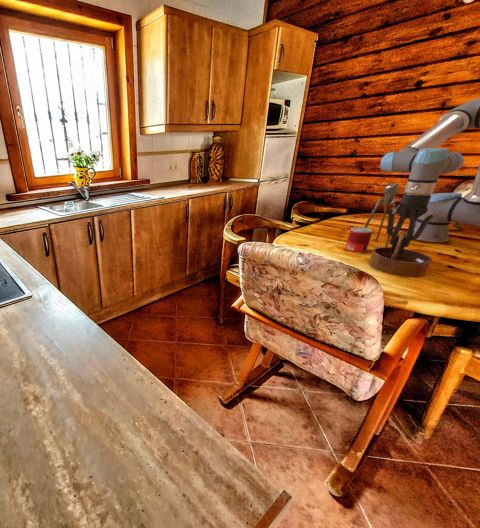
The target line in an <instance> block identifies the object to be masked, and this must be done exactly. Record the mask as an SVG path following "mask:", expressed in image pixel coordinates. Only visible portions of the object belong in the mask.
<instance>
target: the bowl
mask: <svg viewBox="0 0 480 528" xmlns="http://www.w3.org/2000/svg"><path fill="white" fill-rule="evenodd" d="M391 247H392V246H387V247H385V246H380V247H379V246H377V247H374V248H373V249H372V250H371V254H370V257H369V259H368V266H370V267H372V268H373V269H375V270H377V271H380V272H382V273H387V274H389V275H394V276H400V277H408V278H409V277H410V278H417V277H418V278H420V277H424V276H426V275H427V273H428V271H429V269H430V267H431V264H432V263H433V259H432V257H431V256H430V255H427V254H425V253H424V252H419V251H416V250H414V249H408V248H404V250H403V253H402V254H401V255H398V257H397V260H393V259H391V256H392V254H393V253H389V252H390V250H391Z"/></svg>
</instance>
